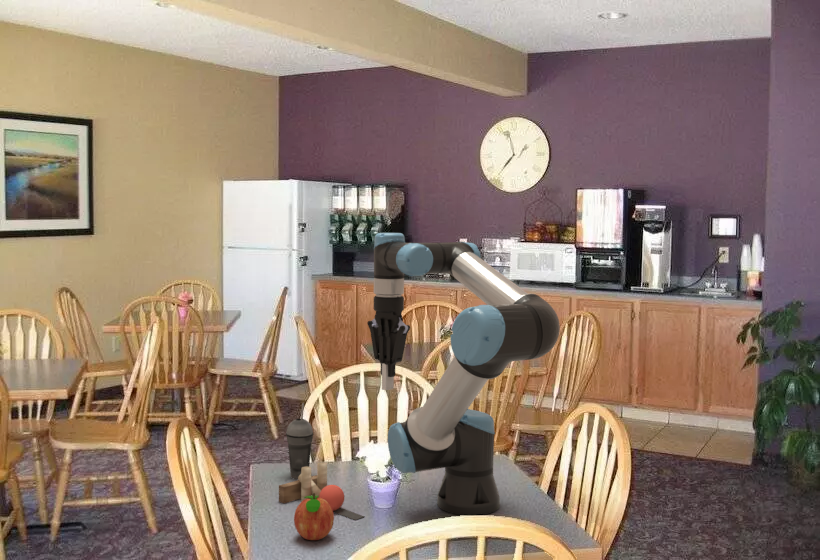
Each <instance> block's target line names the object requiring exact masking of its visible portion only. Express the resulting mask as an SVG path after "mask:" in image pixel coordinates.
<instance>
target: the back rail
mask: <svg viewBox="0 0 820 560" xmlns="http://www.w3.org/2000/svg"><path fill="white" fill-rule="evenodd" d="M311 479H312V481H313V482H314V483H315V484H316V485H317V474H316V475H311ZM297 500H301V482H300V481H299V480H298V479H296V480H293V481H290V482H287V483H282V484H279V485H278V502H279V503H282V504H287V503H290V502H295V501H297Z"/></svg>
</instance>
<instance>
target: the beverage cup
mask: <svg viewBox="0 0 820 560" xmlns="http://www.w3.org/2000/svg"><path fill="white" fill-rule="evenodd" d="M304 409H305V402H302V404H301V412H300V413H301V414H300V418H296V419H293V420H292V421H291V422H290V423H289V424H288V426H287V427H286V433H285V436H286V441H287V444H288V445H287V447H288V458H289V459H288V460H289V470H290V478H291V477H292V478H291V479H293V478H294V479H293V480H298V477H299V475H300V474H301V468H302V467H306V466H307V467H310V462H311V451H312V442H313V437H314V430H313V427H312V425H311V423H310V422H309V421H308V420H306V419H305V418H303V417H304V412H305V411H304Z"/></svg>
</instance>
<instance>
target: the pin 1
mask: <svg viewBox="0 0 820 560" xmlns="http://www.w3.org/2000/svg"><path fill="white" fill-rule="evenodd" d="M311 476H312V467H311V466H309V467H307V466H306V467H302V468H301V499H300V500H301V501H300V503H301V502H302V501H303V500H305V499H307V498H304V497H306V496H312V495H311Z"/></svg>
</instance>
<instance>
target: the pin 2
mask: <svg viewBox="0 0 820 560" xmlns="http://www.w3.org/2000/svg"><path fill="white" fill-rule="evenodd" d="M316 468H317V469H316V472H317V473H316V475H317V486H318V488H319V489H320V490H322V489H323V488H324V487H326V486H328V463H327V462H324V461H323V462H317V467H316Z"/></svg>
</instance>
